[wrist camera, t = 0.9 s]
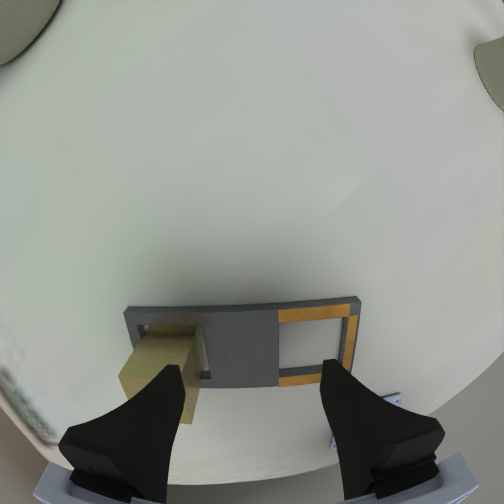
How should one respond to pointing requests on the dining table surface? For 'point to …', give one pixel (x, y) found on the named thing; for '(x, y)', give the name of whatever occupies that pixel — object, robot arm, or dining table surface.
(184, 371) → the block
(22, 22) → the canister
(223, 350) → the grey frame plate
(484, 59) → the can
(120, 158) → the dining table surface
